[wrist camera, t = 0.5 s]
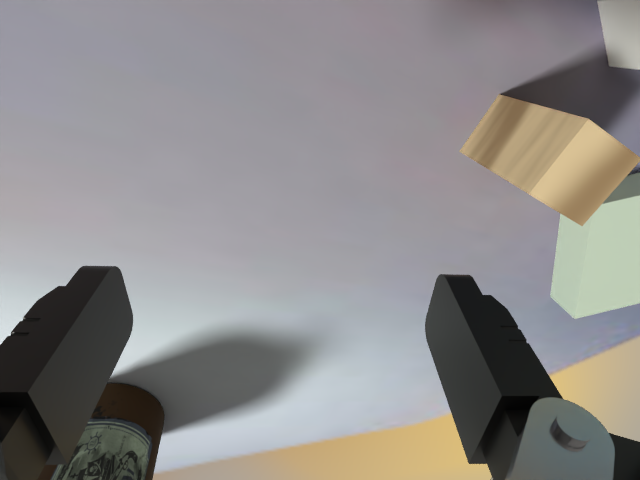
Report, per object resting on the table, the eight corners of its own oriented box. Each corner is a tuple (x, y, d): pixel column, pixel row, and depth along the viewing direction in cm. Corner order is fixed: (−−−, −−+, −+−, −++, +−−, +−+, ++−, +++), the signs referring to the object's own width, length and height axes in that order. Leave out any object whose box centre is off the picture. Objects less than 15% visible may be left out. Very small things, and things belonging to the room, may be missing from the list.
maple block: (459, 151, 32) (528, 194, 24) (499, 94, 31) (588, 118, 22) (503, 178, 34) (582, 226, 26) (543, 125, 32) (641, 158, 24)
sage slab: (560, 188, 36) (593, 206, 32) (687, 159, 36) (733, 173, 33) (547, 294, 42) (574, 318, 38) (656, 268, 42) (693, 290, 38)
